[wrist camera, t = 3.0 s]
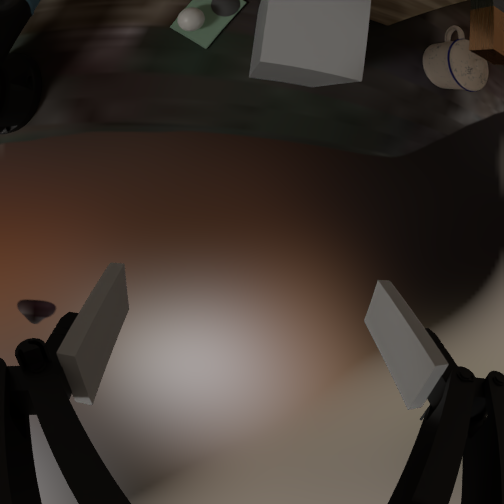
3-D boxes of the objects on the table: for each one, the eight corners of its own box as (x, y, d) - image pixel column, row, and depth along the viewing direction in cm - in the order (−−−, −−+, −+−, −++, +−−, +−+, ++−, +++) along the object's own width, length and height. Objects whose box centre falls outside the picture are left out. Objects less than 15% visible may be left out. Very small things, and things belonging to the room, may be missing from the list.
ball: (174, 26, 39) (169, 20, 36) (190, 6, 38) (187, -1, 34) (195, 38, 40) (191, 32, 37) (211, 18, 39) (209, 12, 36)
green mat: (170, 27, 40) (169, 27, 39) (210, -18, 36) (210, -19, 36) (206, 49, 42) (206, 48, 41) (246, 3, 39) (246, 2, 38)
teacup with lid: (458, 93, 45) (499, 97, 35) (421, 85, 45) (460, 86, 35) (456, 35, 40) (496, 30, 30) (418, 23, 40) (456, 13, 29)
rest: (312, 87, 45) (361, 81, 27) (249, 77, 44) (260, 61, 26) (321, 19, 40) (372, -20, 22) (258, 8, 39) (275, -43, 21)
